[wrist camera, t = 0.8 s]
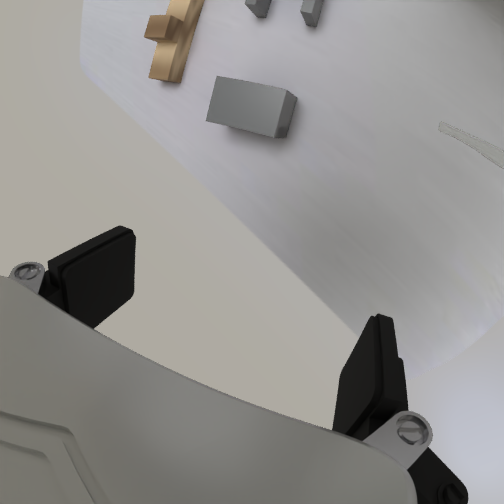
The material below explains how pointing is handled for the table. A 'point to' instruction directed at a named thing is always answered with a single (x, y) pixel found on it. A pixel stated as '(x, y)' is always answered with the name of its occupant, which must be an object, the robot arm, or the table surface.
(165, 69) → the slat
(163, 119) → the table surface
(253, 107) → the channel bracket
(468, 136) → the butter knife
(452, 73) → the table surface
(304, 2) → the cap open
